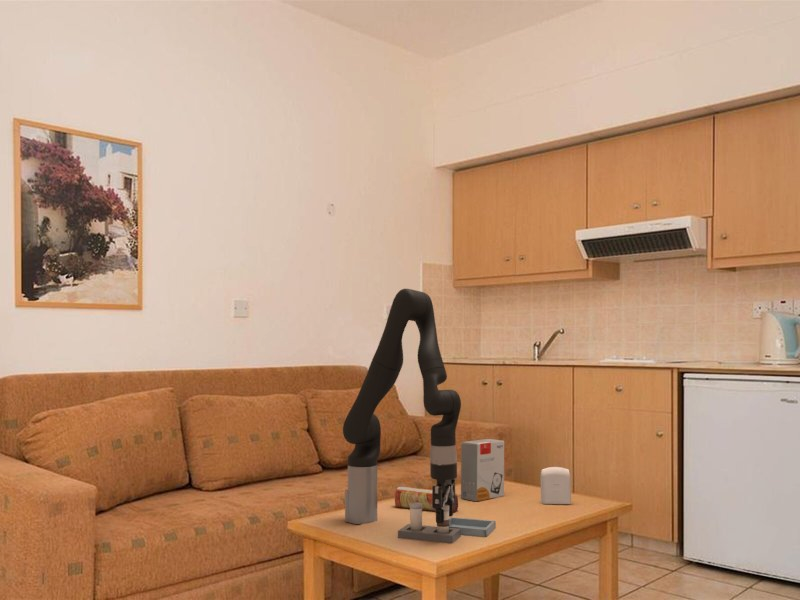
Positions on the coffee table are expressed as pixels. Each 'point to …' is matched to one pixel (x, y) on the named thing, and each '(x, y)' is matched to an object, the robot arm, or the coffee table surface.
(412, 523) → the fuse
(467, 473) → the hard drive box
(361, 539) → the coffee table surface
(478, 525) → the parts tray
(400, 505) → the snack package
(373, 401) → the robot arm
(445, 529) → the cylinder
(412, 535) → the fuse block
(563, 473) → the photo printer
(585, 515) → the coffee table surface
